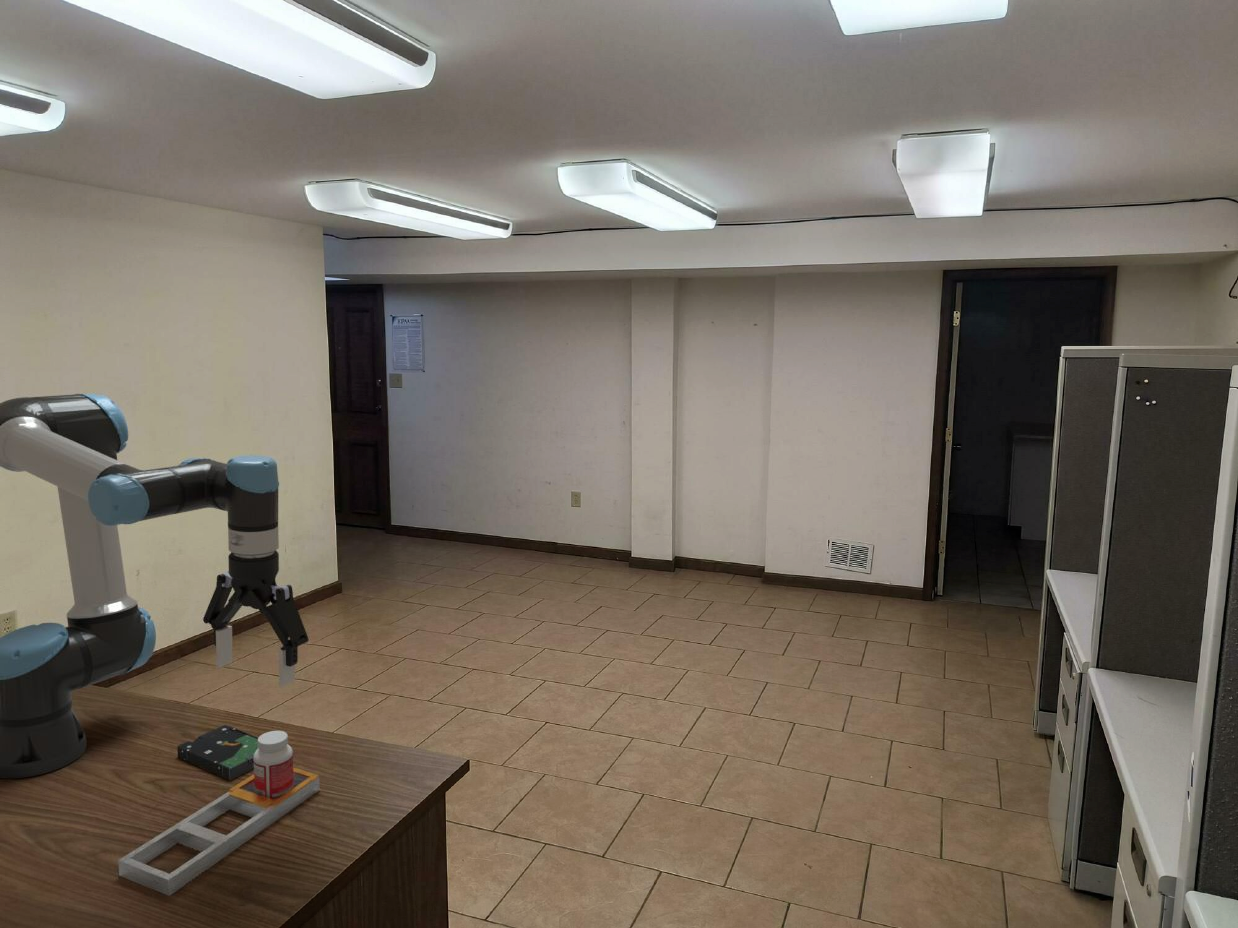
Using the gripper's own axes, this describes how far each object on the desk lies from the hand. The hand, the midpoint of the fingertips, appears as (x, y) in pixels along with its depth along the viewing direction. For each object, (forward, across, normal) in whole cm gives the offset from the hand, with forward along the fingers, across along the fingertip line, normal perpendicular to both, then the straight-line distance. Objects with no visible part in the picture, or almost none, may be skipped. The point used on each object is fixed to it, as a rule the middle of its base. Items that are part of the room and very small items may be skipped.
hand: (255, 673), depth 141 cm
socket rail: (+22, +4, -10) cm, 24 cm away
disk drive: (+23, -13, +6) cm, 27 cm away
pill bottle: (+22, +4, 0) cm, 22 cm away
